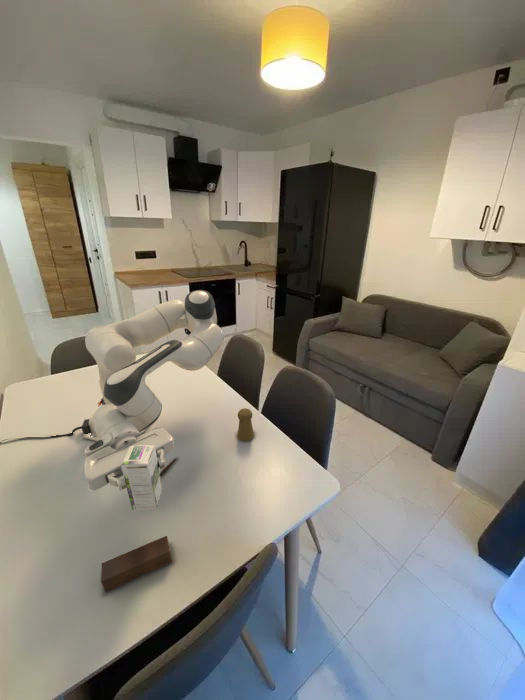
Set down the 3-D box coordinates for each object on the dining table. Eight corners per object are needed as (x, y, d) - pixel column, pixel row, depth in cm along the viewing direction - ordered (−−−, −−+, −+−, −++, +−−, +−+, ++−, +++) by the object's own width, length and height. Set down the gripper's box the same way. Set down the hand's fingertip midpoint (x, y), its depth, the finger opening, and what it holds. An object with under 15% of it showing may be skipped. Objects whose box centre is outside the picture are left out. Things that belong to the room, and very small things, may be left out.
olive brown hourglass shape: (251, 442, 103) (251, 417, 99) (235, 439, 104) (234, 415, 100) (255, 431, 109) (255, 407, 104) (239, 428, 110) (239, 405, 105)
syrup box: (139, 489, 72) (128, 445, 66) (163, 487, 73) (154, 443, 66) (132, 510, 67) (118, 465, 61) (158, 509, 67) (147, 463, 61)
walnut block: (105, 592, 62) (100, 581, 60) (105, 573, 65) (101, 563, 64) (172, 561, 67) (169, 551, 66) (169, 545, 71) (166, 535, 69)
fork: (179, 461, 96) (178, 456, 95) (143, 500, 82) (141, 495, 82) (173, 458, 97) (172, 454, 96) (136, 496, 83) (135, 491, 83)
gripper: (163, 434, 82) (187, 463, 73) (83, 472, 70) (98, 512, 61) (160, 416, 80) (184, 443, 70) (76, 452, 67) (91, 491, 58)
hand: (143, 476), depth 65 cm, fingers closed on syrup box, 8 cm apart
